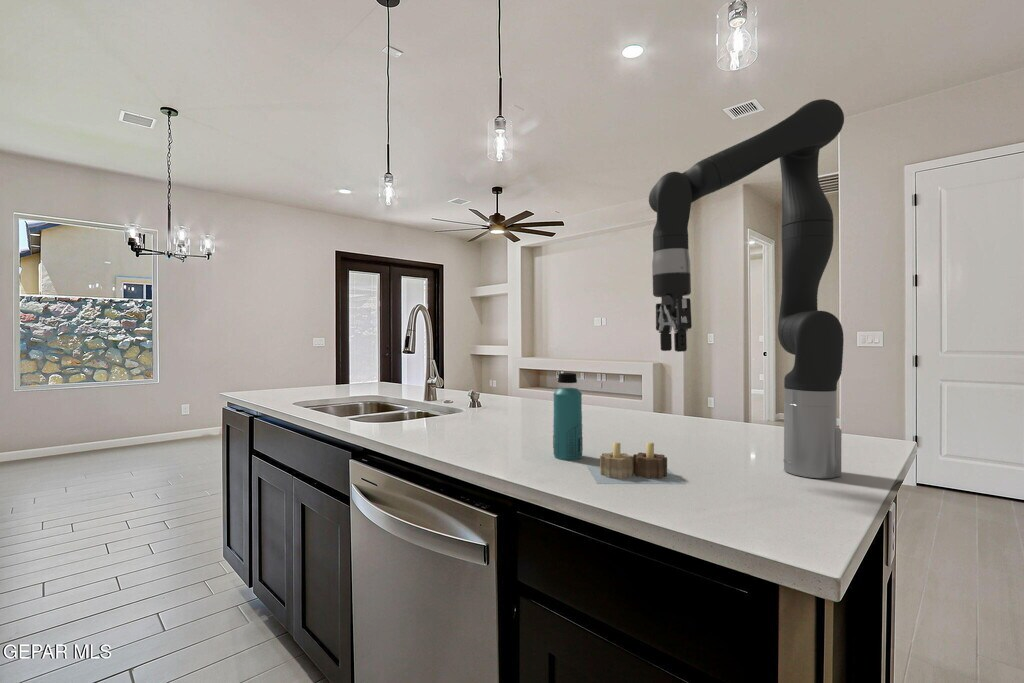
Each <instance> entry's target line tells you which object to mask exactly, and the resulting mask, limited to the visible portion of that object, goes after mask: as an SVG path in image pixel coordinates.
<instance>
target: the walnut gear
mask: <svg viewBox="0 0 1024 683" xmlns="http://www.w3.org/2000/svg"><path fill="white" fill-rule="evenodd" d="M632 456H633V473H635V476H638V477H639V476H641V477H646V478H647V479H650V478H658V479H662V477H663V476H664V477H667V468H668V457H667V456H665V454H662V453H661V454H657V453H654V458H647V457H646V452H638V453H637V454H636V453H635V454H633V455H632Z"/></svg>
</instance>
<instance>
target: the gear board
mask: <svg viewBox="0 0 1024 683" xmlns="http://www.w3.org/2000/svg"><path fill="white" fill-rule="evenodd" d="M645 444H646V445H645V446H646V447H645V449H646V452H645V453H646V457H647V458H654V454H655V443H654V442H648V441H647V442H646V443H645ZM612 452H613V458H620V453H621V442H618V441H617V442H615V441H613V442H612ZM586 468H587V469H588V471H589V472H590V474H591V476H592V478H593V480H594V481H595V483H596V484H598V485H602V484H603V485H610V484H611V485H687V483H686V482H685V481H684V480H682V479H681V478H680V477H679V476H678V475H676V473H674V472H673V471H672V470H670V469H669V468H668V467H667V477H664V476H663V477H662V479H658V478H650V479H647V478H646V477H641V476H639V477H638V476H635V473H633V475H632V477H631V478H622V479H618V478H612V477H611V478H607V477H606V476H605V475H601V474H600V465H587V466H586Z"/></svg>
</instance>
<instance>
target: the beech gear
mask: <svg viewBox="0 0 1024 683" xmlns="http://www.w3.org/2000/svg"><path fill="white" fill-rule="evenodd" d="M599 466H600V474H601V475H605V476H606V477H607V478H611V477H612V478H618V479H622V478H631V477H632V475H633V455H629V454H628V453H626V452H625V453H624V452H623V453H621V452H620V458H613V451H611V452H609V453H606V452H603V453H601V455H599Z"/></svg>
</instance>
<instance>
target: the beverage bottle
mask: <svg viewBox="0 0 1024 683" xmlns="http://www.w3.org/2000/svg"><path fill="white" fill-rule="evenodd" d="M557 378H558V379H557V382H558V383H560V384H577V382H578V379H577V374H576V373H573V372H561V373H558V377H557ZM552 396H553V431H552V432H553V434H552V448H553V456H554V458H555V459H557V460H563V461H575V460H581V459H582V457H583V449H584V448H583V447H584V446H583V438H584V437H583V411H582V409H583V408H582V407H583V405H582V401H583V400H582V399H583V398H582V396H583V393H582V392H581V391H580V390H579V389H578V388H577V387H576V388H574V387H558V388H557V389H556V390H555V391H554V392H553V395H552Z"/></svg>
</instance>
